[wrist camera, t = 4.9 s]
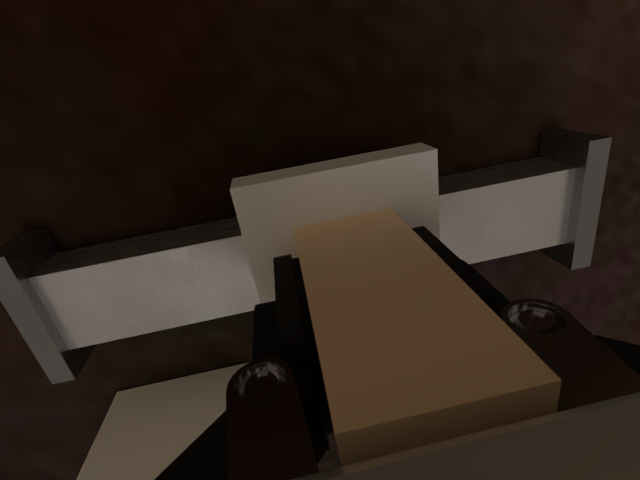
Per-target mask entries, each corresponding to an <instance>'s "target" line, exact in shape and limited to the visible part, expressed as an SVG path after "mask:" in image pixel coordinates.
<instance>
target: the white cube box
mask: <svg viewBox="0 0 640 480" xmlns="http://www.w3.org/2000/svg"><path fill="white" fill-rule="evenodd" d="M248 363H249V362H248ZM246 364H247V363H244V364H239V365H235V366H230V367H226V368H221V369H217V370H212V371H208V372H203V373H199V374H194V375H190V376H185V377H181V378H177V379H172V380H168V381H163V382H159V383H154V384H150V385H145V386H141V387H136V388H132V389H127V390H123V391H118V392H117V393H116V396H115V398H114V400H113V402H112V404H111V406H110V408H109V411H108V413H107V415H106V417H105V419H104V421H103V423H102V426H101V428H100V430H99V432H98V434H97V436H96V438H95V441H94V443H93V445H92V447H91V449H90V451H89V453H88V456H87V458H86V460H85V462H84V464H83V466H82V468H81V471H80V473H79V475H78V477H77V479H76V480H154V479H155V478H156V477H157V476H158V475H159V474H160V473H161V472H162V471H164V470H165V469H166V468H167V467H168V466H169V465H170V464H171V463H172V462H173V461H174V460H175V459H176V458H177V457H178V456H179V455H180V454H181V453H182V452H183V451H184V450H185V449H186V448H187V447H188V446H189V445H190V444H191V443H192V442H193V441H195V440H196V439H197V438H198V437H199V436H200V435H201V434H202V433H203V432H204V431H205V430H206V429H207V428H208V427H209V426H210V425H211V424H212V423H213V422H214V421H215V420H216V419H217V418H218V417H219V416H220V415H221V414H222V413H223V412H224V411H226V389H227V384H228V382H229V381H230V379H231V377H232V376H233V375H234V374H235V373H236V372H237V370H238V369H240V368H241V367H243V366H244V365H246Z"/></svg>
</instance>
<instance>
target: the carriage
mask: <svg viewBox="0 0 640 480" xmlns="http://www.w3.org/2000/svg"><path fill="white" fill-rule="evenodd" d="M230 193H231V196H232V200H233V204H234V208H235V211H236V215H237V219H238V222H239V226H240V230H241V233H242V237H243V241H244V244H245V248H246V252H247V256H248V259H249V263H250V267H251V270H252V274H253V278H254V281H255V285H256V289H257V293H258V296H259V300H260V304H261V303H266V302H270V301H275V300H276V299H275V282H274V264H273V258H274V257H279V256H284V255H288V254H291V256H292V258H297V257H299V260H300V265H301V270H302V275H303V280H304V285H305V290H306V295H307V300H308V305H309V310H310V315H311V320H312V324H313V329H314V334H315V339H316V344H317V349H318V354H319V359H320V364H321V369H322V374H323V379H324V384H325V389H326V394H327V399H328V404H329V409H330V414H331V419H332V424H333V429H334V434H335V438H336V443H337V448H338V453H339V458H340V463H341V467H343V466H347V465H350V464H354V463H358V462H362V461H366V460H370V459H374V458H378V457H382V456H385V455H389V454H393V453H397V452H401V451H405V450H409V449H413V448H417V447H421V446H425V445H429V444H433V443H437V442H441V441H445V440H449V439H453V438H456V437H460V436H464V435H468V434H472V433H476V432H480V431H484V430H488V429H492V428H496V427H500V426H504V425H508V424H512V423H516V422H520V421H524V420H528V419H532V418H536V417H540V416H544V415H548V414H552V413H557V407H558V400H559V394H560V387H561V381H562V380H561V379H560V378H559V377H558V376H557V375H556V374H555V373H554V372H553V371H552V370H551V369H550V368H549V367H548V366H547V365H546V364H545V363H544V362H543V361H542V360H541V359H540V358H539V357H538V356H537V355H536V354H535V353H534V352H533V351H532V350H531V349H530V348H529V347H528V346H527V345H526V344H525V343H524V342H523V341H522V340H521V339H520V338H519V337H518V336H517V335H516V334H515V333H514V332H513V331H512V330H511V329H510V328H509V327H508V326H507V325H506V324H505V322H504V321H503V320H502V319H501V318H500V317H499V316H498V315H497V314H496V313H495V312H494V311H493V310H492V309H491V308H490V307H489V306H488V305H487V304H486V303H485V302H484V301H483V300H482V299H481V298H480V297H479V296H478V295H477V294H476V293H475V292H474V291H473V290H472V289H471V288H470V287H469V286H468V285H467V284H466V283H465V282H464V281H463V280H462V279H461V278H460V277H459V276H458V275H457V274H456V273H455V272H454V271H453V270H452V269H451V268H450V267H449V266H448V265H447V264H446V263H445V262H444V261H443V260H442V259H441V258H440V257H439V256H438V255H437V254H436V253H435V252H434V251H433V250H432V249H431V248H430V247H429V246H428V245H427V244H426V243H425V242H424V241H423V240H422V239H421V238H420V237H419V236H418V235H417V234H416V233H415V232H414V231H413V230H412V229H411V228H415V227H419V226H425V227H426V228H427V229H428V230H429V231H430V232H431V233H432V234H433V235H435V236H436V237H437V238H438V239H439V240H440V228H439V188H438V149H436V148H434V147H431V146H429V145H426V144H424V143H416V144H411V145H406V146H400V147H395V148H390V149H385V150H379V151H374V152H369V153H364V154H358V155H353V156H348V157H343V158H338V159H332V160H327V161H322V162H317V163H311V164H306V165H301V166H296V167H290V168H285V169H280V170H275V171H270V172H264V173H259V174H254V175H249V176H243V177H238V178H233V179H232V183H231V186H230Z"/></svg>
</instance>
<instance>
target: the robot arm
mask: <svg viewBox="0 0 640 480" xmlns="http://www.w3.org/2000/svg"><path fill="white" fill-rule="evenodd" d="M411 229H412V230H413V231H414V232H415V233H416V234H417V235H418V236H419V237H420V238H421V239H422V240H423V241H424V242H425V243H426V244H427V245H428V246H429V247H430V248H431V249H432V250H433V251H434V252H435V253H436V254H437V255H438V256H439V257H440V258H441V259H442V260H443V261H444V262H445V263H446V264H447V265H448V266H449V267H450V268H451V269H452V270H453V271H454V272H455V273H456V274H457V275H458V276H459V277H460V278H461V279H462V280H463V281H464V282H465V283H466V284H467V285H468V286H469V287H470V288H471V289H472V290H473V291H474V292H475V293H476V294H477V295H478V296H479V297H480V298H481V299H482V300H483V301H484V302H485V303H486V304H487V305H488V306H489V307H490V308H491V309H492V310H493V311H494V312H495V313H496V314H497V315H498V316H499V317H500V318H501V319H502V320H503V321H504V322H505V324H506V325H507V326H508V327H509V328H510V329H511V330H512V331H513V332H514V333H515V334H516V335H517V336H518V337H519V338H520V339H521V340H522V341H523V342H524V343H525V344H526V345H527V346H528V347H529V348H530V349H531V350H532V351H533V352H534V353H535V354H536V355H537V356H538V357H539V358H540V359H541V360H542V361H543V362H544V363H545V364H546V365H547V366H548V367H549V368H550V369H551V370H552V371H553V372H554V373H555V374H556V375H557V376H558V377H559V378H560V379H561V380H562V381H561V387H560V394H559V400H558V407H557V413H552V414H548V415H544V416H540V417H536V418H532V419H528V420H524V421H520V422H516V423H512V424H508V425H504V426H500V427H496V428H492V429H488V430H484V431H480V432H476V433H472V434H468V435H464V436H460V437H456V438H453V439H449V440H445V441H441V442H437V443H433V444H429V445H425V446H421V447H417V448H413V449H409V450H405V451H401V452H397V453H393V454H389V455H385V456H382V457H378V458H374V459H370V460H366V461H362V462H358V463H354V464H350V465H347V466H343V467H339V468H335V469H331V470H327V471H323V472H319V470H318V466H317V463H318V462H319V461H320V459H321V458H322V456H323V455H324V453H325V452H326V451H327V450H330V447H329V441H328V435H329V434H333V433H334V429H333V424H332V419H331V414H330V409H329V404H328V399H327V394H326V389H325V384H324V379H323V374H322V369H321V364H320V359H319V354H318V349H317V344H316V339H315V334H314V329H313V324H312V320H311V315H310V310H309V305H308V300H307V295H306V290H305V285H304V280H303V275H302V270H301V265H300V260H299V257H297V258H292V256H291V254H288V255H284V256H279V257H274V258H273V264H274V282H275V299H276V300H275V301H270V302H266V303H261V304H257V305H255V308H254V332H253V358H252V362H250V363H247V364H246V365H244V366H243V367H241V368H240V369H238V370H237V372H236V373H235V374H234V375H233V376H232V377H231V379H230V381H229V382H228V384H227V389H226V411H224V412H223V413H222V414H221V415H220V416H219V417H218V418H217V419H216V420H215V421H214V422H213V423H212V424H211V425H210V426H209V427H208V428H207V429H206V430H205V431H204V432H203V433H202V434H201V435H200V436H199V437H198V438H197V439H196V440H195V441H193V442H192V443H191V444H190V445H189V446H188V447H187V448H186V449H185V450H184V451H183V452H182V453H181V454H180V455H179V456H178V457H177V458H176V459H175V460H174V461H173V462H172V463H171V464H170V465H169V466H168V467H167V468H166V469H165V470H164V471H162V472H161V473H160V474H159V475H158V476H157V477H156V478H155V479H154V480H640V345H635V344H631V343H627V342H623V341H618V340H614V339H610V338H605V337H601V336H597V335H594V334H593V333H592V332H591V331H590V330H588V329H587V328H586V327H585V326H584V325H583V324H582V323H581V322H580V321H579V320H578V319H576V318H575V317H574V316H573V315H572V314H571V313H570V312H569V311H567V310H566V309H564V308H563V307H561V306H559V305H557V304H554V303H552V302H549V301H545V300H541V299H531V298H528V299H518V300H514V301H511V302H510V301H509V300H508V299H507V298H505V297H504V296H503V295H502V294H501V293H500V292H499V291H498V290H497V289H495V288H494V287H493V286H492V285H491V284H490V283H489V282H488V281H487V280H486V279H484V278H483V277H482V276H481V275H480V274H479V273H478V272H477V271H476V270H474V269H473V268H472V267H471V266H470V265H469V264H468V263H467V262H465V261H464V260H461V259H460V258H459V257H457V256H456V255H455V254H454V253H453V252H452V251H451V250H450V249H449V248H448V247H447V246H445V245H444V244H443V243H442V242H441V241H440V240H439V239H438V238H437V237H436V236H435V235H433V234H432V233H431V232H430V231H429V230H428V229H427V228H426V227H425V226H419V227H415V228H411Z"/></svg>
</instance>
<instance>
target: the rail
mask: <svg viewBox="0 0 640 480" xmlns="http://www.w3.org/2000/svg"><path fill="white" fill-rule="evenodd" d="M611 140H612V137H609V136H603V135H597V134H591V133H585V132H579V131H573V130H567V129H561V128H559V129H554V130H548V131H543V132H541V136H540V147H539V157H537V158H531V159H526V160H521V161H516V162H511V163H506V164H501V165H496V166H491V167H486V168H481V169H476V170H471V171H466V172H461V173H456V174H451V175H446V176H441V177H438V188H439V228H440V241H441V242H442V243H443V244H444V245H445V246H447V247H448V248H449V249H450V250H451V251H452V252H453V253H454V254H455V255H456V256H457V257H459V258H460V259H461V260H464V261H465V262H467V263H468V264H472V263H477V262H481V261H486V260H491V259H495V258H500V257H505V256H509V255H514V254H519V253H523V252H528V251H533V250H537V249H538V250H539V251H541V252H543V253H544V254H546V255H547V256H549V257H551V258H552V259H554V260H556V261H557V262H559V263H560V264H562V265H564V266H565V267H567V268H568V269H570V270H574V269H579V268H583V267H588V266H590V264H591V258H592V252H593V246H594V240H595V235H596V229H597V223H598V217H599V211H600V205H601V199H602V193H603V187H604V181H605V175H606V169H607V163H608V157H609V151H610V145H611ZM0 301H1V302H2V304H3V306H4V307H5V309H6V310H7V312H8V314H9V315H10V317H11V318H12V320H13V322H14V323H15V325H16V326H17V328H18V330H19V331H20V333H21V335H22V336H23V338H24V339H25V341H26V343H27V344H28V346H29V347H30V349H31V351H32V352H33V354H34V355H35V357H36V359H37V360H38V362H39V364H40V365H41V367H42V368H43V370H44V372H45V373H46V375H47V376H48V378H49V380H50V381H51V383H52V384H56V383H60V382H65V381H69V380H74V379H76V377H77V376H78V374H79V372H80V371H81V369H82V368H83V366H84V364H85V363H86V361H87V360H88V358H89V356H90V355H91V353H92V352H93V350H94V348H95V347H96V345H97V344H99V343H104V342H109V341H113V340H118V339H123V338H127V337H132V336H137V335H141V334H146V333H151V332H155V331H160V330H165V329H169V328H174V327H179V326H183V325H188V324H193V323H197V322H202V321H207V320H211V319H216V318H220V317H225V316H230V315H234V314H239V313H244V312H248V311H253V310H254V308H255V305H257V304H260V300H259V296H258V293H257V289H256V285H255V281H254V278H253V274H252V270H251V267H250V263H249V259H248V256H247V252H246V248H245V244H244V241H243V237H242V233H241V230H240V226H239V222H238V219H237V217H233V218H228V219H223V220H218V221H213V222H208V223H203V224H198V225H193V226H188V227H183V228H178V229H173V230H168V231H163V232H158V233H153V234H147V235H142V236H137V237H132V238H127V239H122V240H117V241H112V242H107V243H102V244H97V245H92V246H87V247H82V248H77V249H72V250H67V251H62V252H58V250H57V248H56V246H55V244H54V242H53V240H52V238H51V236H50V234H49V232H48V230H47V228H42V229H37V230H31V231H26V232H23V233H21V234H20V235H18V236H16V237H15V238H13V239H12V240H10V241H9V242H7V243H5V244H4V245H2V246H1V247H0Z"/></svg>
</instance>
